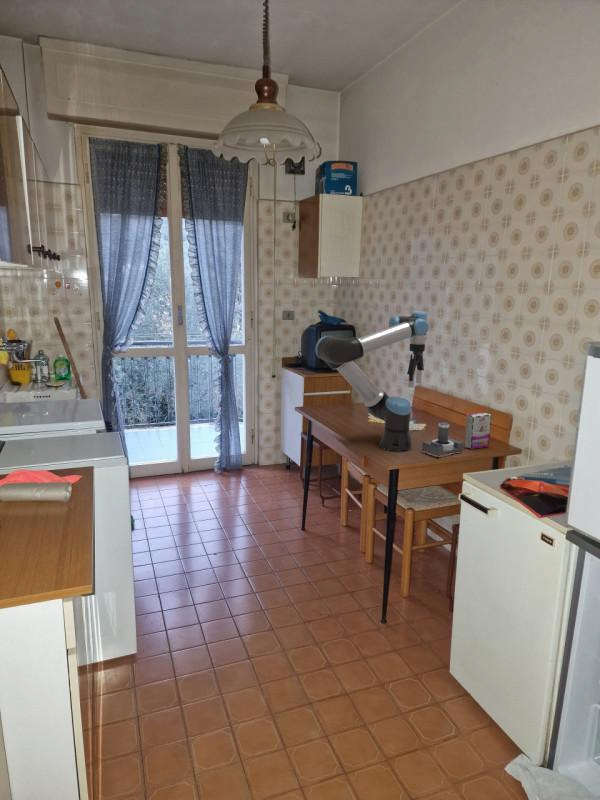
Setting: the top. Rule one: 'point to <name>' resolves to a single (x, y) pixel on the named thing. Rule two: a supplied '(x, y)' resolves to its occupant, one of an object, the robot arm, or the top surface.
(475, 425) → the candy bar box
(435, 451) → the camera body
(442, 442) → the lens
